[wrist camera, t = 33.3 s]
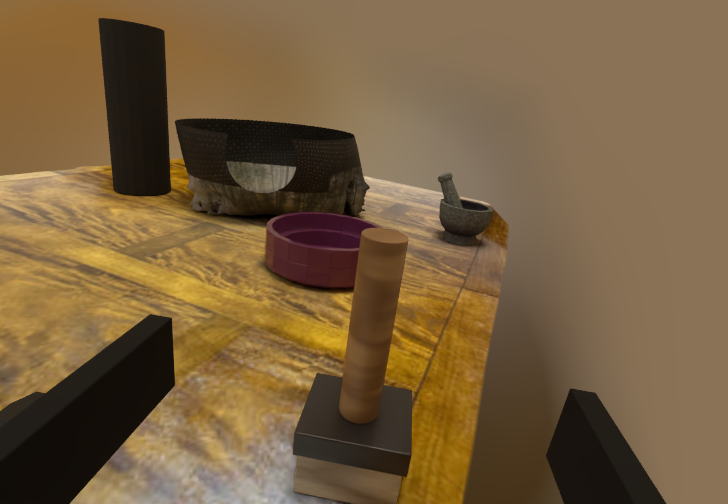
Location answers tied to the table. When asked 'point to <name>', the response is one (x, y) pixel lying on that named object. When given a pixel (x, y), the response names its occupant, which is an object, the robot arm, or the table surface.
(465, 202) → the mortar and pestle
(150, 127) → the vase
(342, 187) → the basket
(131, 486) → the table surface
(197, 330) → the table surface
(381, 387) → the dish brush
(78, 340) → the table surface
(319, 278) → the bowl
